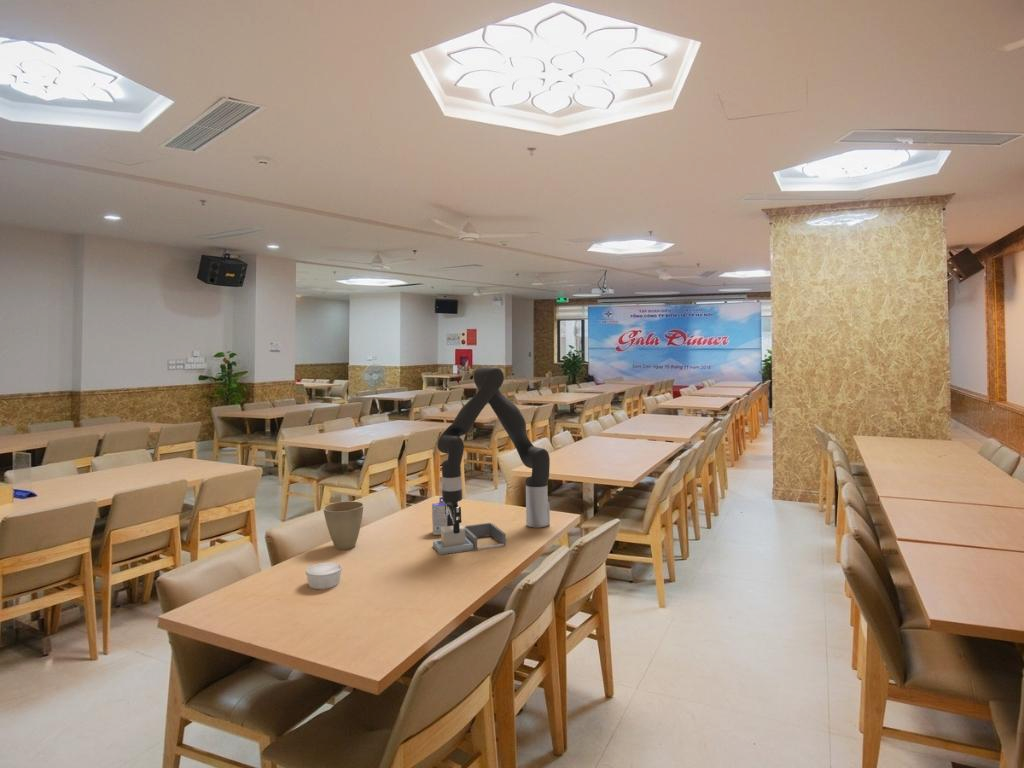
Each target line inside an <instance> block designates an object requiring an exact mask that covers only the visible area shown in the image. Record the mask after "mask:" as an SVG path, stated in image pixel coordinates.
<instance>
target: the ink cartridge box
mask: <svg viewBox="0 0 1024 768" xmlns="http://www.w3.org/2000/svg"><path fill="white" fill-rule="evenodd" d="M431 510H432V511H431V513H432V514H431V515H432V516H431V518H432V535H433V536H437V535H440V536H441V527H446V526H447V518H448V517H446V515H445V502H444V501H443V500H442V496H440V497H439V502H433V503H432V504H431ZM456 520H458V519H457V518H456Z"/></svg>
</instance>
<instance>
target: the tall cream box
mask: <svg viewBox="0 0 1024 768" xmlns="http://www.w3.org/2000/svg"><path fill="white" fill-rule="evenodd" d="M459 527H460V532H459V533H457V534H454V532H453V526H446V527H441V535H440V540H441V546H442V547H450V546H457V545H464V544H465V528H464V527H465V526H463V525H462V524H459Z"/></svg>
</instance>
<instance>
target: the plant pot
mask: <svg viewBox="0 0 1024 768" xmlns="http://www.w3.org/2000/svg"><path fill="white" fill-rule="evenodd" d="M322 508H323V510H322V511H323V513H324V519H325V522H326V523H325V524H326V527H327V531H328V533H329V536H330V539H331V541H332V544H333V545H334V547H335V549H336V550H341V551H345V550H350V549H353V548H355V547H356V545H357V540H358V538H359V534H360V531H361V525H362V521H363V514H364V513H363V512H364V503H363V502H361V501H355V500H354V501H353V500H350V501H349V500H346V501H339V502H338V501H337V502H333V503H329V504H327V505H325V506H324V507H322Z"/></svg>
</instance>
